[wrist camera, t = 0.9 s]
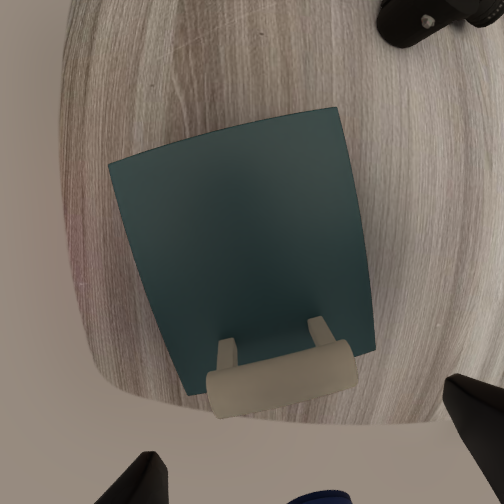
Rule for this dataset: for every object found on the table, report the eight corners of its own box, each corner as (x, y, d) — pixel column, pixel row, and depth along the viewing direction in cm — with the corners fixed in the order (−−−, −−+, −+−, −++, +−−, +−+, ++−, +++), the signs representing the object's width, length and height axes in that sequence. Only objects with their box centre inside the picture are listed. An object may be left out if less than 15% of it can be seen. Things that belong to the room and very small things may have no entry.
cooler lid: (372, 344, 15) (415, 404, 10) (188, 389, 15) (176, 461, 10) (333, 108, 12) (383, 79, 8) (112, 164, 12) (51, 163, 8)
